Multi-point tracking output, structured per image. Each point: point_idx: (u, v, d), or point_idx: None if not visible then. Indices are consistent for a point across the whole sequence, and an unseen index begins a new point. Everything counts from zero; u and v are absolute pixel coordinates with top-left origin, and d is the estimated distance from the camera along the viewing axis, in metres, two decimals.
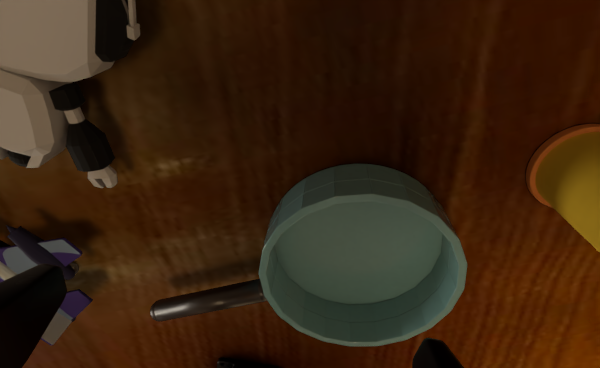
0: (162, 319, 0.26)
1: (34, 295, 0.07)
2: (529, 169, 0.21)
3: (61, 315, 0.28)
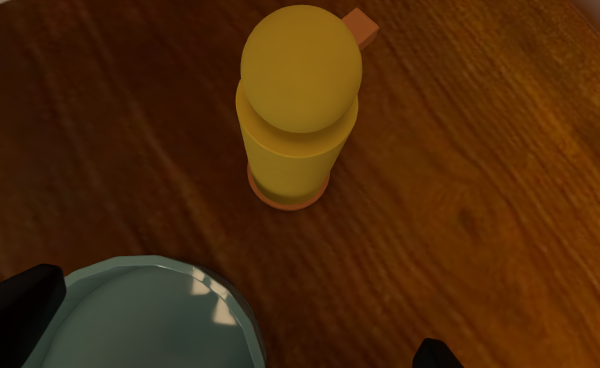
0: None
1: (34, 295, 0.07)
2: (253, 191, 0.23)
3: None
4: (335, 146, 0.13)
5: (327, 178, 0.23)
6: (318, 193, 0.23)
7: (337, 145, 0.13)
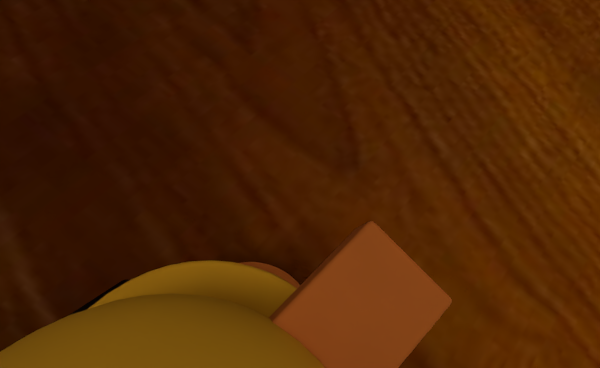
0: None
1: None
2: None
3: None
4: None
5: None
6: None
7: None
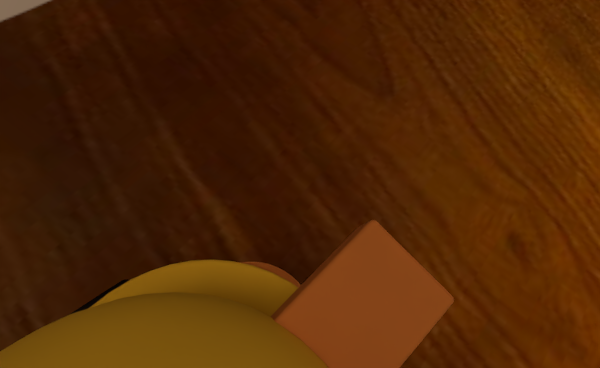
0: None
1: None
2: None
3: None
4: None
5: None
6: None
7: None
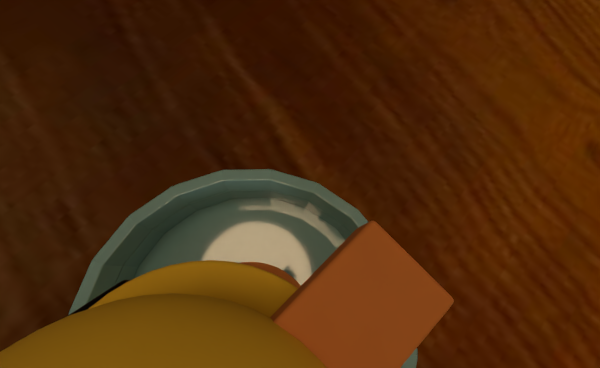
0: None
1: None
2: None
3: None
4: None
5: None
6: None
7: None
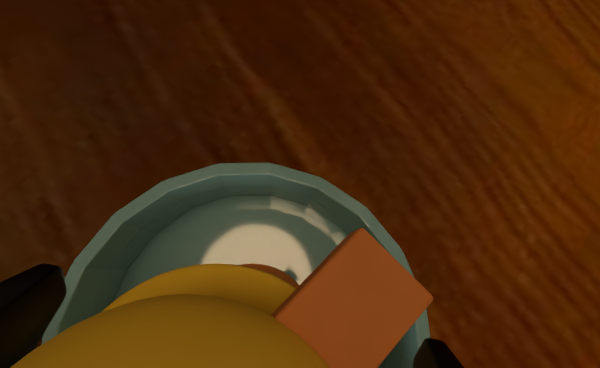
0: None
1: (34, 295, 0.07)
2: None
3: None
4: None
5: None
6: None
7: None
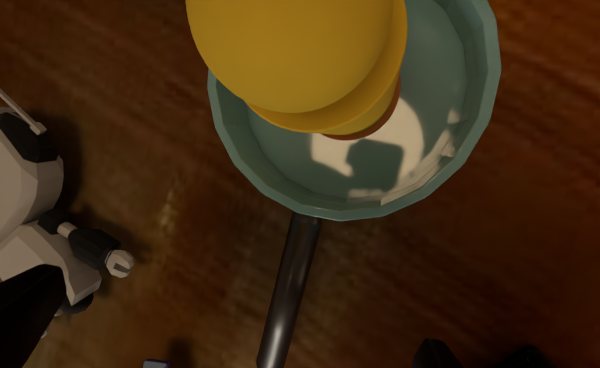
0: (271, 366, 0.18)
1: (34, 295, 0.07)
2: (320, 133, 0.19)
3: None
4: (394, 77, 0.09)
5: None
6: (394, 98, 0.18)
7: (396, 73, 0.09)
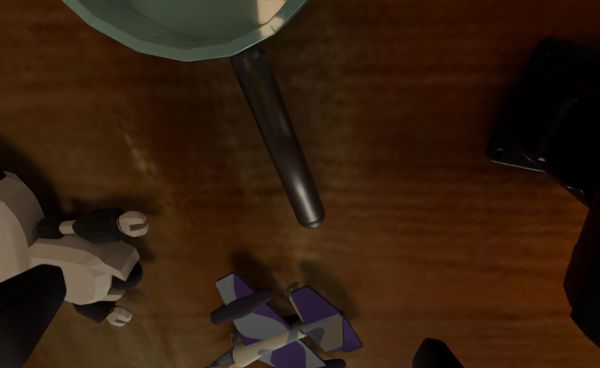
0: (311, 215, 0.18)
1: (34, 295, 0.07)
2: None
3: (329, 321, 0.23)
4: None
5: None
6: None
7: None
